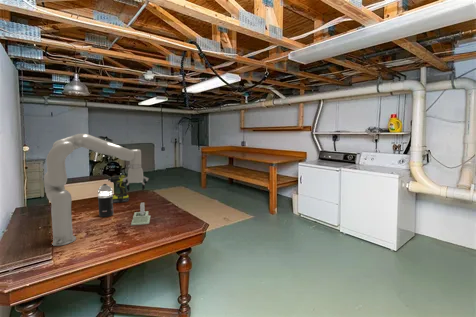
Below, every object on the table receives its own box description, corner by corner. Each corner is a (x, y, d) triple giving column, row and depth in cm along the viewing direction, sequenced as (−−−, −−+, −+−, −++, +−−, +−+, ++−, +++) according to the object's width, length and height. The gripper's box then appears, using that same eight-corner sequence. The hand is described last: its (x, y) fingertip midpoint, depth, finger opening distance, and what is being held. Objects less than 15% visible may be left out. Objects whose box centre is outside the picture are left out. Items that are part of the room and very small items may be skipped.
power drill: (110, 201, 233) (109, 174, 230) (129, 199, 238) (128, 174, 235) (108, 203, 224) (107, 176, 221) (128, 202, 229) (127, 175, 226)
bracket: (144, 220, 180) (143, 204, 179) (137, 221, 179) (136, 205, 177) (144, 218, 186) (144, 202, 185) (137, 218, 184) (137, 202, 183)
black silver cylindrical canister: (97, 218, 187) (95, 185, 184) (100, 213, 196) (99, 182, 194) (112, 217, 189) (110, 185, 187) (114, 212, 199) (113, 182, 197)
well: (149, 223, 176) (148, 216, 176) (130, 225, 173) (130, 218, 173) (150, 216, 192) (150, 210, 191) (133, 217, 188) (133, 211, 188)
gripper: (121, 167, 171) (121, 191, 172) (148, 167, 176) (148, 190, 177) (123, 166, 178) (123, 189, 180) (148, 165, 183) (149, 188, 184)
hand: (135, 190), depth 178 cm, fingers open, 9 cm apart
